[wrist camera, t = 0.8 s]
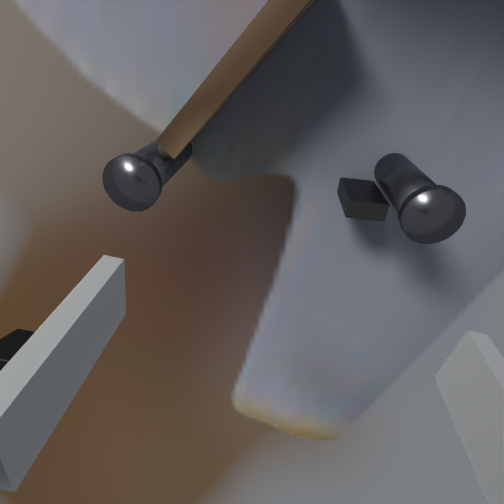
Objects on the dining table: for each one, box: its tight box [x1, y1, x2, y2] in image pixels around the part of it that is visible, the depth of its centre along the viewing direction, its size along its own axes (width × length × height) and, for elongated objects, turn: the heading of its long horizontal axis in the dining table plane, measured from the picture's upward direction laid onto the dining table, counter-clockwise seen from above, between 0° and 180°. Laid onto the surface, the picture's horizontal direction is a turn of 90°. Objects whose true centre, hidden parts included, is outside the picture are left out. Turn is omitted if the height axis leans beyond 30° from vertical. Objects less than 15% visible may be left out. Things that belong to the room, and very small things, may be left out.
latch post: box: [337, 153, 466, 244], centre depth 28 cm, size 5×7×11 cm
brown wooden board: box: [155, 0, 314, 159], centre depth 25 cm, size 2×17×7 cm, turn 135°
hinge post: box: [103, 139, 192, 211], centre depth 28 cm, size 4×4×11 cm
